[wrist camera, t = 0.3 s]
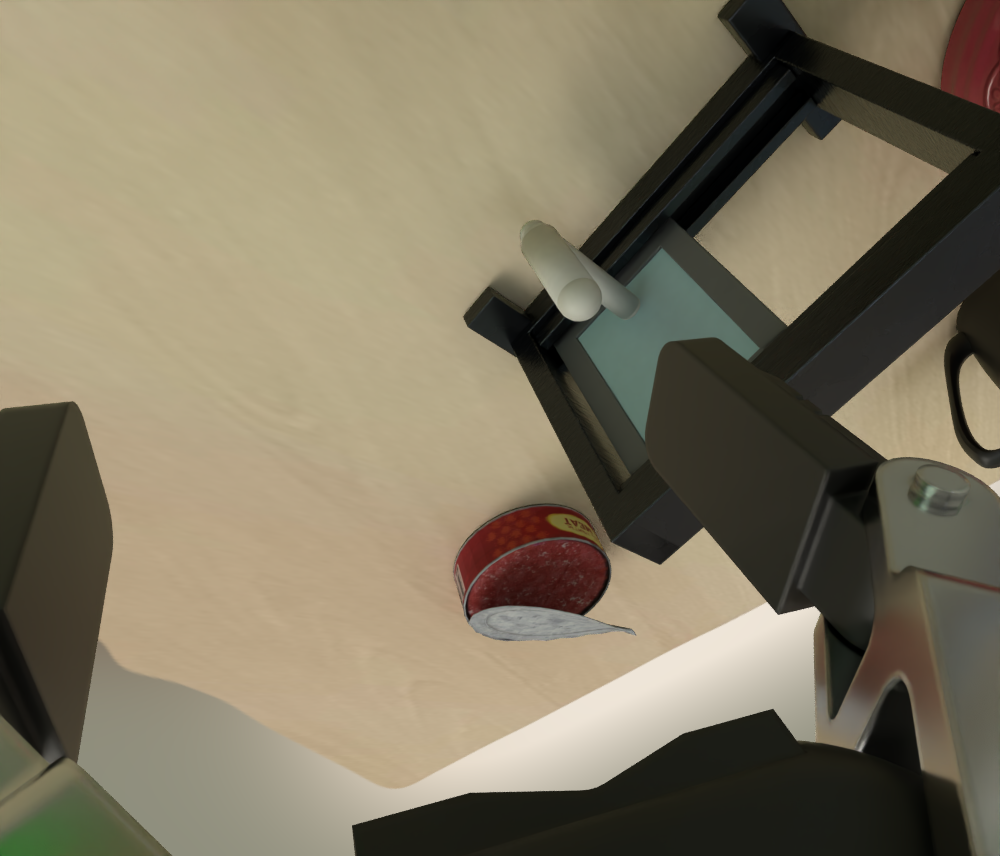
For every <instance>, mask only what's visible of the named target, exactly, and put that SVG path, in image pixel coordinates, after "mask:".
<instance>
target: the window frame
mask: <svg viewBox="0 0 1000 856" xmlns="http://www.w3.org/2000/svg"><path fill="white" fill-rule="evenodd" d="M718 18H719V19H720V20H721V22H722V23H723V24H724V26H725V27H726V28H727V29H728V31H729V32H730V33H731V34H732V36H733V37H734V38H735V40H736V41H737V42H738V43H739V45H740V46H741V47H742V48H743V50H744V51H745V52H746V54H747V55H748V56H749V57H748V58H747V59H746V60H745V62H744V63H743V64H742V65H741V66H740V67H739V68H738V70H737V71H736V72H735V73H734V74H733V75H732V76H731V78H730V79H729V80H728V81H727V82H726V83H725V84H724V85H723V87H722V88H721V89H720V90H719V91H718V92H717V93H716V95H715V96H714V97H713V98H712V99H711V100H710V101H709V103H708V104H707V105H706V106H705V107H704V108H703V109H702V110H701V112H700V113H699V114H698V115H697V116H696V117H695V118H694V120H693V121H692V122H691V123H690V124H689V125H688V126H687V128H686V129H685V130H684V131H683V132H682V133H681V134H680V136H679V137H678V138H677V139H676V140H675V141H674V142H673V143H672V145H671V146H670V147H669V148H668V149H667V150H666V151H665V153H664V154H663V155H662V156H661V157H660V158H659V159H658V161H657V162H656V163H655V164H654V165H653V166H652V167H651V169H650V170H649V171H648V172H647V173H646V174H645V175H644V176H643V178H642V179H641V180H640V181H639V182H638V183H637V184H636V186H635V187H634V188H633V189H632V190H631V191H630V192H629V194H628V195H627V196H626V197H625V198H624V199H623V200H622V201H621V203H620V204H619V205H618V206H617V207H616V208H615V209H614V211H613V212H612V213H611V214H610V215H609V216H608V217H607V219H606V220H605V221H604V222H603V223H602V224H601V225H600V227H599V228H598V229H597V230H596V231H595V232H594V233H593V234H592V236H591V237H590V238H589V239H588V240H587V241H586V242H585V244H584V245H583V246H582V247H581V248H580V249H579V251H580V252H581V253H583V254H584V255H585V256H586V257H588V258H589V259H590V260H591V261H593V262H594V263H595V264H596V265H598V266H599V267H600V268H602V269H603V270H604V271H605V272H607V273H608V274H609V275H610V276H612V277H613V278H614V277H615V276H616V275H617V274H618V273H619V272H620V271H621V270H622V268H623V267H624V266H625V265H626V264H627V263H628V262H629V261H630V260H631V259H632V258H633V256H634V255H635V254H636V253H637V252H638V251H639V250H640V249H641V248H642V247H643V246H644V244H645V243H646V242H647V241H648V240H649V239H650V238H651V237H652V236H653V235H654V234H655V232H656V231H657V230H658V229H659V228H660V227H661V226H662V225H663V224H664V223H665V222H666V220H667V219H668V218H669V217H671V218H672V219H673V220H674V221H675V222H677V223H678V224H679V225H680V226H681V227H682V228H683V229H684V230H685V231H686V232H687V233H688V234H689V235H690V236H692V237H693V238H694V237H695V235H696V234H697V233H698V232H699V231H700V230H701V229H702V228H703V227H704V226H705V225H706V224H707V223H708V222H709V221H710V220H711V219H712V217H713V216H714V215H715V214H716V213H717V212H718V211H719V210H720V209H721V208H722V207H723V206H724V205H725V204H726V203H727V202H728V200H729V199H730V198H731V197H732V196H733V195H734V194H735V193H736V192H737V191H738V190H739V189H740V188H741V187H742V186H743V185H744V183H745V182H746V181H747V180H748V179H749V178H750V177H751V176H752V175H753V174H754V173H755V172H756V171H757V170H758V169H759V168H760V166H761V165H762V164H763V163H764V162H765V161H766V160H767V159H768V158H769V157H770V156H771V155H772V154H773V153H774V152H775V151H776V149H777V148H778V147H779V146H780V145H781V144H782V143H783V142H784V141H785V140H786V139H787V138H788V137H789V136H790V135H791V134H792V132H793V131H794V130H795V129H796V128H797V127H798V126H799V125H800V124H802V125H803V126H804V127H805V129H806V130H807V131H808V133H809V134H811V135H812V136H814V137H816V138H818V139H819V140H822V139H824V138H825V136H826V135H827V134H828V133H829V132H830V131H831V130H832V129H833V128H834V127H835V126H836V125H837V124H838V123H839V122H840V121H841V120H844V121H846V122H848V123H850V124H852V125H854V126H856V127H858V128H860V129H862V130H864V131H866V132H868V133H870V134H872V135H874V136H876V137H878V138H880V139H882V140H884V141H886V142H888V143H890V144H892V145H894V146H895V147H897V148H899V149H901V150H903V151H905V152H907V153H909V154H911V155H913V156H915V157H917V158H919V159H921V160H923V161H925V162H927V163H929V164H931V165H933V166H935V167H937V168H939V169H941V170H943V171H945V172H947V173H949V175H948V176H947V177H945V178H944V179H943V180H942V181H941V182H940V183H939V184H938V185H937V186H936V187H935V188H934V189H933V190H932V191H931V192H930V193H929V194H928V195H926V196H925V197H924V198H923V199H922V200H921V201H920V202H919V203H918V204H917V205H916V206H915V207H914V208H913V209H912V210H911V211H910V212H909V213H908V214H906V215H905V216H904V217H903V218H902V219H901V220H900V221H899V222H898V223H897V224H896V225H895V226H894V227H893V228H892V229H891V230H890V231H889V232H887V233H886V234H885V235H884V236H883V237H882V238H881V239H880V240H879V241H878V242H877V243H876V244H875V245H874V246H873V247H872V248H871V249H870V250H868V251H867V252H866V253H865V254H864V255H863V256H862V257H861V258H860V259H859V260H858V261H857V262H856V263H855V264H854V265H853V266H852V267H851V268H849V269H848V270H847V271H846V272H845V273H844V274H843V275H842V276H841V277H840V278H839V279H838V280H837V281H836V282H835V283H834V284H833V285H832V286H831V287H829V288H828V289H827V290H826V291H825V292H824V293H823V294H822V295H821V296H820V297H819V298H818V299H817V300H816V301H815V302H814V303H813V304H812V305H810V306H809V307H808V308H807V309H806V310H805V311H804V312H803V313H802V314H801V315H800V316H799V317H798V318H797V319H796V320H795V321H794V322H793V323H791V324H790V325H789V326H788V327H787V328H786V329H785V330H784V331H783V332H782V333H781V334H780V335H779V336H778V337H777V338H776V339H775V340H774V341H772V342H771V343H770V344H769V345H768V346H767V347H766V348H765V349H764V350H763V351H762V352H761V353H760V354H759V355H758V356H757V357H756V358H755V359H753V360H752V361H751V362H750V363H751V364H753V365H754V366H755V367H757V368H758V369H760V370H762V371H764V372H767V373H769V374H771V375H773V376H776V377H778V378H780V379H781V380H783V381H784V382H785V383H787V384H788V385H789V386H791V387H792V388H793V389H794V390H796V391H797V392H798V393H800V394H801V395H802V396H803V400H809V401H810V402H812V403H813V404H814V405H816V406H817V407H818V408H820V409H821V410H822V414H823V415H829V416H830V417H831V416H832V415H833V414H834V413H835V412H836V411H838V410H839V409H840V408H841V407H842V406H843V405H844V404H846V403H847V402H848V401H849V400H850V399H851V398H852V397H854V396H855V395H856V394H857V393H858V392H859V391H860V390H862V389H863V388H864V387H865V386H866V385H867V384H868V383H870V382H871V381H872V380H873V379H874V378H875V377H877V376H878V375H879V374H880V373H881V372H882V371H883V370H885V369H886V368H887V367H888V366H889V365H890V364H891V363H893V362H894V361H895V360H896V359H897V358H898V357H899V356H901V355H902V354H903V353H904V352H905V351H906V350H908V349H909V348H910V347H911V346H912V345H913V344H914V343H916V342H917V341H918V340H919V339H920V338H921V337H922V336H924V335H925V334H926V333H927V332H928V331H929V330H930V329H932V328H933V327H934V326H935V325H936V324H937V323H938V322H940V321H941V320H942V319H943V318H944V317H945V316H947V315H948V314H949V313H950V312H951V311H952V310H953V309H955V308H956V307H957V306H958V305H959V304H960V303H961V302H963V301H964V300H965V299H966V298H967V297H968V296H969V295H971V294H972V293H973V292H974V291H975V290H976V289H977V288H979V287H980V286H981V285H982V284H983V283H984V282H986V281H987V280H988V279H989V278H990V277H991V276H992V275H994V274H995V273H996V272H997V271H998V270H999V269H1000V113H998V112H996V111H993V110H991V109H988V108H986V107H983V106H980V105H978V104H975V103H973V102H970V101H968V100H965V99H963V98H960V97H958V96H955V95H953V94H950V93H948V92H945V91H942V90H940V89H937V88H935V87H932V86H930V85H927V84H925V83H922V82H920V81H917V80H915V79H912V78H909V77H907V76H904V75H902V74H899V73H897V72H894V71H892V70H889V69H887V68H884V67H882V66H879V65H877V64H874V63H871V62H869V61H866V60H864V59H861V58H859V57H856V56H854V55H851V54H849V53H846V52H844V51H841V50H838V49H836V48H833V47H831V46H828V45H826V44H823V43H821V42H818V41H816V40H813V39H811V38H808V37H807V35H806V34H805V33H804V31H803V30H802V28H801V27H800V25H799V24H798V23H797V21H796V20H795V18H794V17H793V16H792V14H791V13H790V11H789V10H788V8H787V7H786V6H785V4H784V3H783V1H782V0H730V1H729V3H728V4H727V5H726V6H725V7H724V8H723V10H722V11H721V12H720V13H719V14H718ZM463 318H464V320H465V322H466V324H467V326H468V328H470V329H472V330H473V331H475V332H477V333H478V334H480V335H481V336H483V337H485V338H486V339H488V340H489V341H491V342H493V343H494V344H496V345H498V346H499V347H501V348H502V349H504V350H506V351H507V352H509V353H510V354H512V355H514V356H515V357H517V358H518V360H519V362H520V364H521V366H522V368H523V370H524V372H525V374H526V376H527V378H528V380H529V382H530V384H531V386H532V388H533V390H534V392H535V394H536V396H537V398H538V399H539V401H540V403H541V405H542V407H543V409H544V411H545V413H546V415H547V417H548V419H549V421H550V423H551V425H552V427H553V429H554V431H555V433H556V435H557V437H558V439H559V441H560V442H561V444H562V446H563V448H564V450H565V452H566V454H567V456H568V458H569V460H570V462H571V464H572V466H573V468H574V470H575V472H576V474H577V476H578V478H579V480H580V482H581V483H582V485H583V487H584V489H585V491H586V493H587V495H588V497H589V499H590V501H591V503H592V505H593V507H594V509H595V511H596V513H597V515H598V517H599V519H600V521H601V523H602V525H603V526H604V528H605V530H606V532H607V534H608V536H609V538H610V540H611V542H612V543H614V544H616V545H618V546H621V547H623V548H625V549H627V550H629V551H631V552H633V553H636V554H638V555H640V556H642V557H644V558H646V559H649V560H651V561H653V562H655V563H657V564H659V565H660V564H662V563H663V562H664V561H665V560H667V559H668V558H669V557H670V556H671V555H672V554H673V553H675V552H676V551H677V550H678V549H679V548H680V547H681V546H683V545H684V544H685V543H686V542H687V541H688V540H689V539H691V538H692V537H693V536H694V535H695V534H696V533H698V532H699V531H700V530H701V529H702V528H703V526H702V524H701V523H700V522H699V521H698V520H697V518H696V517H695V516H694V515H693V514H692V513H691V511H690V510H689V509H688V508H687V507H686V505H685V504H684V503H683V502H682V501H681V500H680V498H679V497H678V496H677V495H676V494H675V492H674V491H673V490H672V489H671V488H670V487H669V485H668V484H667V483H666V482H665V481H664V479H663V478H662V477H661V476H660V475H659V474H658V472H657V471H656V470H655V469H654V467H653V466H652V464H651V462H650V460H649V459H648V460H647V461H646V462H645V463H644V464H643V465H642V466H641V467H640V468H639V469H637V470H636V471H635V472H634V473H633V474H632V475H630V473H629V472H628V470H627V468H626V467H625V465H624V463H623V461H622V460H621V458H620V456H619V455H618V453H617V451H616V450H615V448H614V446H613V445H612V443H611V441H610V440H609V438H608V436H607V434H606V433H605V431H604V429H603V428H602V426H601V424H600V423H599V421H598V419H597V418H596V416H595V414H594V413H593V411H592V409H591V407H590V406H589V404H588V402H587V401H586V399H585V397H584V396H583V394H582V392H581V391H580V389H579V387H578V386H577V384H576V382H575V380H574V379H573V377H572V375H571V374H570V372H569V370H568V369H567V367H566V365H565V364H564V362H563V360H562V359H561V357H560V355H559V353H558V352H557V350H556V348H555V347H554V345H553V344H554V343H555V342H556V341H557V339H558V338H559V337H560V336H561V335H562V334H563V333H564V332H565V331H566V330H567V329H568V327H569V326H570V325H571V324H572V323H573V322H574V321H572V320H570V319H568V318H566V317H565V316H564V315H563V314H562V313H561V312H560V311H559V309H558V308H557V306H556V304H555V303H554V301H553V300H552V298H551V297H550V295H549V294H548V292H547V291H546V289H544V290H543V291H542V292H541V294H540V295H539V296H538V297H537V298H536V299H535V300H534V302H533V303H532V304H531V305H530V306H529V307H528V308H527V310H526V311H524V310H522V309H521V308H519V307H518V306H517V305H515V304H514V303H512V302H511V301H509V300H508V299H506V298H505V297H503V296H502V295H500V294H499V293H497V292H496V291H494V290H493V289H491V288H490V287H488V288H487V289H486V290H485V292H484V293H483V294H482V295H481V296H480V297H479V299H478V300H477V301H476V302H475V303H474V305H473V306H472V307H471V308H470V309H469V311H468V312H467V313H466V314H465V315H464V317H463Z"/></svg>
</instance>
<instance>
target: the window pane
mask: <svg viewBox="0 0 1000 856" xmlns="http://www.w3.org/2000/svg"><path fill="white" fill-rule="evenodd" d="M520 240H521V250H522V253H523V255H524V256H525V258H526V260H527V261H528V263H529V264H530V266H531V267H532V269H533V270H534V272H535V273H536V275H537V277H538V278H539V280H540V281H541V283H542V284H543V286H544V287H545V289H546V291H547V292H548V294H549V295H550V297H551V298H552V300H553V301H554V303H555V304H556V306H557V308H558V309H559V311H560V312H561V313H562V314H563V315H564V316H565V317H566V318H568V319H570V320H572V321H574V322H573V323H572V324H571V325H570V326H569V327H568V329H567V330H566V331H565V332H564V333H563V334H562V335H561V336H560V337H559V338H558V339H557V341H556V342H555V343H554V344H553V345H554V347H555V348H556V350H557V352H558V353H559V355H560V357H561V359H562V360H563V362H564V364H565V365H566V367H567V369H568V370H569V372H570V374H571V375H572V377H573V379H574V380H575V382H576V384H577V386H578V387H579V389H580V391H581V392H582V394H583V396H584V397H585V399H586V401H587V402H588V404H589V406H590V407H591V409H592V411H593V413H594V414H595V416H596V418H597V419H598V421H599V423H600V424H601V426H602V428H603V429H604V431H605V433H606V434H607V436H608V438H609V440H610V441H611V443H612V445H613V446H614V448H615V450H616V451H617V453H618V455H619V456H620V458H621V460H622V461H623V463H624V465H625V467H626V468H627V470H628V472H629V473H630V475H632V474H633V473H634V472H635V471H636V470H637V469H639V468H640V467H641V466H642V465H643V464H644V463H645V462H646V461H647V460H648V459H649V457H648V454H647V450H646V445H645V428H646V422H647V416H648V411H649V405H650V400H651V394H652V389H653V383H654V378H655V372H656V367H657V361H658V357H659V354H660V351H661V349H662V347H663V346H664V345H665V344H666V343H668V342H670V341H678V340H688V339H698V338H708V337H716V338H718V339H720V340H722V341H723V342H724V343H726V344H727V345H728V346H729V347H731V348H732V349H733V350H735V351H736V352H737V353H738V354H740V355H741V356H742V357H744V358H745V359H746V360H748V361H749V362H751V361H752V360H753V359H755V358H756V357H757V356H758V355H759V354H760V353H761V352H762V351H763V350H764V349H765V348H766V347H767V346H768V345H769V344H770V343H771V342H772V341H774V340H775V339H776V338H777V337H778V336H779V335H780V334H781V333H782V332H783V331H784V330H785V329H786V328H787V327H788V326H787V325H786V324H785V323H784V322H782V321H781V320H780V319H779V318H778V317H777V316H776V315H775V314H774V313H773V312H772V311H771V310H770V309H769V308H768V307H766V306H765V305H764V304H763V303H762V302H761V301H760V300H759V299H758V298H757V297H756V296H755V295H754V294H753V293H751V292H750V291H749V290H748V289H747V288H746V287H745V286H744V285H743V284H742V283H741V282H740V281H739V280H738V279H736V278H735V277H734V276H733V275H732V274H731V273H730V272H729V271H728V270H727V269H726V268H725V267H724V266H723V265H722V264H720V263H719V262H718V261H717V260H716V259H715V258H714V257H713V256H712V255H711V254H710V253H709V252H708V251H707V250H705V249H704V248H703V247H702V246H701V245H700V244H699V243H698V242H697V241H696V240H695V239H694V238H693V237H692V236H690V235H689V234H688V233H687V232H686V231H685V230H684V229H683V228H682V227H681V226H680V225H679V224H678V223H677V222H675V221H674V220H673V219H672V218H671V217H669V218H668V219H667V220H666V222H665V223H664V224H663V225H662V226H661V227H660V228H659V229H658V230H657V231H656V232H655V234H654V235H653V236H652V237H651V238H650V239H649V240H648V241H647V242H646V243H645V244H644V246H643V247H642V248H641V249H640V250H639V251H638V252H637V253H636V254H635V255H634V256H633V258H632V259H631V260H630V261H629V262H628V263H627V264H626V265H625V266H624V267H623V268H622V270H621V271H620V272H619V273H618V274H617V275H616V276H615V277H614V278H613V277H612V276H610V275H609V274H608V273H607V272H605V271H604V270H603V269H602V268H600V267H599V266H598V265H596V264H595V263H594V262H593V261H591V260H590V259H589V258H588V257H586V256H585V255H584V254H583V253H581V252H580V251H579V250H577V249H576V248H575V247H574V246H572V245H571V244H570V243H569V242H567V241H566V240H565V239H564V238H562V237H561V235H560V234H559V233H558V232H557V230H556V229H555V228H554V227H552V226H551V225H548V224H545V223H543V222H541V221H538V220H531V221H529V222H527V223H526V224H525V225H524V226H523V227H522V229H521V232H520Z"/></svg>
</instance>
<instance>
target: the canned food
mask: <svg viewBox="0 0 1000 856" xmlns="http://www.w3.org/2000/svg"><path fill="white" fill-rule="evenodd" d="M453 572H454V580H455V583H456V585H457V589H458V592H459V596H460V599H461V603H462V606H463V610H464V615H465V617H466V620H467V622H468V624H469V625H470V626H471V627H472V628H473V629H474V630H475V631H476V632H477V633H480V634H482V635H484V636H486V637H489V638H492V639H496V640H503V641H526V640H545V641H547V640H553V639H559V638H574V637H579V636H584V635H588V634H602V633H607V632H611V631H624V632H626V633H629V634H632V635H636V634H635V632H634V631H633V630H632V629H629V628H625V627H620V626H614V625H609V624H605V623H603V622H600V621H597V620H594V619H591V618H588V617H585V616H584V615H585V614H587V613H588V612H589V611H590V610H591V609H592V608H593V607H594V606H595V605H596V604H597V603H598V602H599V601H600V599H601V598H602V596H603V595H604V593H605V592H606V590H607V588H608V585H609V582H610V579H611V565H610V560H609V558H608V557H607V555H606V553H605V551H604V549H603V547H602V545H601V543H600V541H599V539H598V537H597V535H596V533H595V531H594V528H593V526H592V525H591V523H590V521H589V520H588V519H587V518H586V517H585V516H583V515H582V514H581V513H579V512H577V511H575V510H573V509H571V508H568V507H564V506H561V505H550V504H542V505H531V506H527V507H522V508H518V509H515V510H512V511H509V512H507V513H504V514H502V515H500V516H498V517H496V518H494V519H492V520H490V521H489V522H487V523H486V524H485V525H483V526H482V527H480V528H479V529H478V530H476V531H475V532H474V533H473V534H472V535H471V536H470V537H469V538H468V539H467V541H466V542H465V543H464V545H463V546H462V548H461V549H460V551H459V553H458V555H457V558H456V560H455V565H454V571H453Z"/></svg>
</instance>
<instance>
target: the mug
mask: <svg viewBox="0 0 1000 856" xmlns="http://www.w3.org/2000/svg"><path fill="white" fill-rule="evenodd" d="M957 330H958V332H959V333H958V334H957V335H955V336H954V337H953V338H952V339H951V340H950V341H949V342H948V344H947V346H946V349H945V354H944V367H945V376H946V383H947V389H948V396H949V402H950V408H951V415H952V420H953V426H954V430H955V434H956V437H957V439H958V441H959V443H960V445H961V447H962V448H963V450H964V451H965V452H966V453H967V454H968V456H969V457H971V458H972V459H973V460H974V461H975V462H976V463H977V464H979V465H980V466H982V467H984V468H997V467H1000V449H996V450H986V449H984V448H983V447H981V446H980V445H979V444H978V443H977V441H976V440H975V439H974V437H973V436H972V434H971V432H970V430H969V427H968V425H967V422H966V419H965V415H964V411H963V407H962V402H961V396H960V388H959V374H960V369H961V366H962V364H963V363H964V361H965V360H966V359H967V358H968V357H969V356H971V355H972V354H974V356H975V357H976V359H977V360H978V362H979V363H980V365H981V366H982V368H983V369H984V371H985V372H986V373H987V374H988V376H989V377H990V378H991V380H992V381H993V382H994V383H995V384H996V386H997V387H998V388H999V389H1000V269H999V270H998V271H997V272H996V273H995V274H994V275H992V276H991V277H990V278H989V279H988V280H987V281H986V282H984V283H983V284H982V285H981V286H980V287H979V288H977V289H976V290H975V291H974V292H973V293H972V294H971V295H969V296H968V297H967V298H966V299H965V301H964V302H963V304H962V306H961V308H960V311H959V313H958V317H957Z"/></svg>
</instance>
